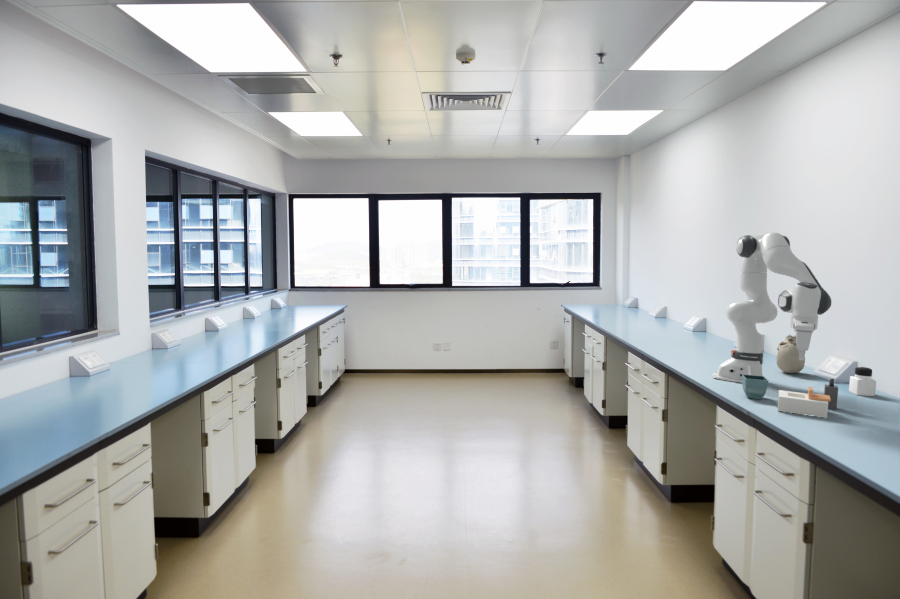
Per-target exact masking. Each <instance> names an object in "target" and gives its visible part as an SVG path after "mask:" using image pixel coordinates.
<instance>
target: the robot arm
mask: <svg viewBox="0 0 900 599" xmlns="http://www.w3.org/2000/svg"><path fill="white" fill-rule="evenodd" d="M736 252H737V254H738V256H739V257H741V258H742V259H741V261H742V262H741V267H740V281H739V282H740V283H739V286H740V289H741V291H743V293H745V295H746V296H747V300H743V301H742V300H739V301H736V302H733V303H730V304H729V305H727V307H726V311H725V312H726V313H725V314H726V317H727V320H729V321H730V322H731V323H732V325H733V327H734V330H735V333H736V349H732V350H731V351H730V352H731V353H730V354H731V357H730V358H728V359H726V360H725V361H723V362H721V363H720V364H719V366H718V368H717V371H714V372H713V373H712V378H713V377H714V379H715V378H716V379H717V380H722V381H728V382H735V383H741V384H742V374H743V375H755V376H764V375H763V363H764V352H763V346H764V337H763V335H762V334H761V333H760V332H758V329H757V325H756V324H766V323H769V322H772V321H774V320H775V319H776V318H777V317H778V308H777V306H778V307H779V308H780V310H781V311H782V312H785V313H791V315H790V316H791V317H790V328H792V329H793V332H794V333H795V335H796V343H797V349H798V350H799V360H802V361H803V360H804V357H805V358H806V351H808V350H809V348H810V344H811V339H812V335H813V333H814V331H815V330H818V325H819V324H818V322H819V315H820V316H821V315H824V314H825V313H826V312H828V311H829V310H830V308H831V306H832V297H831V296H830V295H829V293H828V292H827V291H826V290H825V289H824V288H823V286H821V284H820V283H819V280H818V279H817V278H816V276H815V274H814V273H813V272H812V270H811V268H810V267H809V266H808V265H807V264H806V263H805V262H804V261H802V260H801V259H799V258H798V257H797V256H796V255H795V254H794V253H793V251H792V249H791V243H790V239H789V238H788V237H787V236H786V235H782V233H779V232H774V231H773V232H769V233H767V234H765V233H764V234H753V235H750V234H749V235H743V236H740V237H739V239H738V240H737V242H736ZM768 270H769V271H770V272H772V273H774V274H777V275H778V274H779V275H782V276H786V277H790V278H793V279H795V280H797V281H798V282H797V283H796V284H795V285H794V287H792V288H789V289H785V290H783V291H781V293H780V294H779V295H778V299H777V306H776V305H775V304H774V303H773V302H772V301H771V299H770V296H769V293H768V289H767V288H768V287H767V286H768V284H767V283H768V282H767V281H768Z"/></svg>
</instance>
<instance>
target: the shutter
mask: <svg viewBox="0 0 900 599" xmlns="http://www.w3.org/2000/svg"><path fill="white" fill-rule="evenodd" d="M807 390H808V392H807V394H808V397H809V399H814V400H822V401H829V402H831V399H830V396H829V395H824V394H820V393H814V389H813V387H812V386H808V389H807Z"/></svg>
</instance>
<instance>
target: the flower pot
mask: <svg viewBox="0 0 900 599" xmlns="http://www.w3.org/2000/svg"><path fill="white" fill-rule="evenodd" d="M741 384H742V389H743V393H744V394H745V396H746V397H747V398H748V399H754V398H755V399H757V400H762V399H763V398H764V397H765V395H766V393H767V389H768V385H769V379H768V378H766V376H764V375H763V376H755V375H743V374H742V383H741ZM755 399H754V400H755Z"/></svg>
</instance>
